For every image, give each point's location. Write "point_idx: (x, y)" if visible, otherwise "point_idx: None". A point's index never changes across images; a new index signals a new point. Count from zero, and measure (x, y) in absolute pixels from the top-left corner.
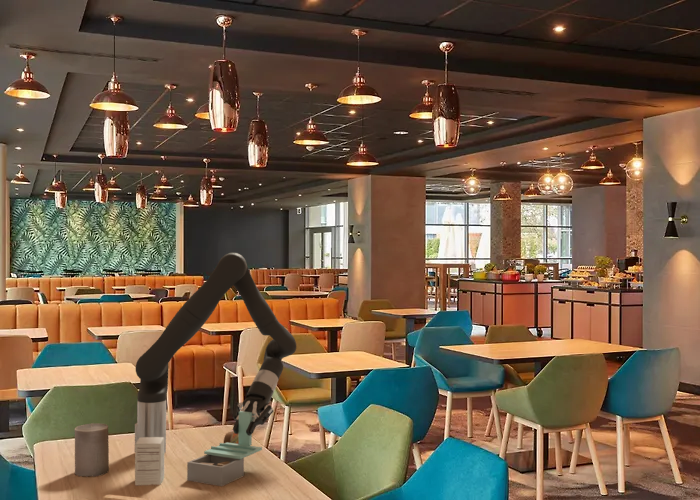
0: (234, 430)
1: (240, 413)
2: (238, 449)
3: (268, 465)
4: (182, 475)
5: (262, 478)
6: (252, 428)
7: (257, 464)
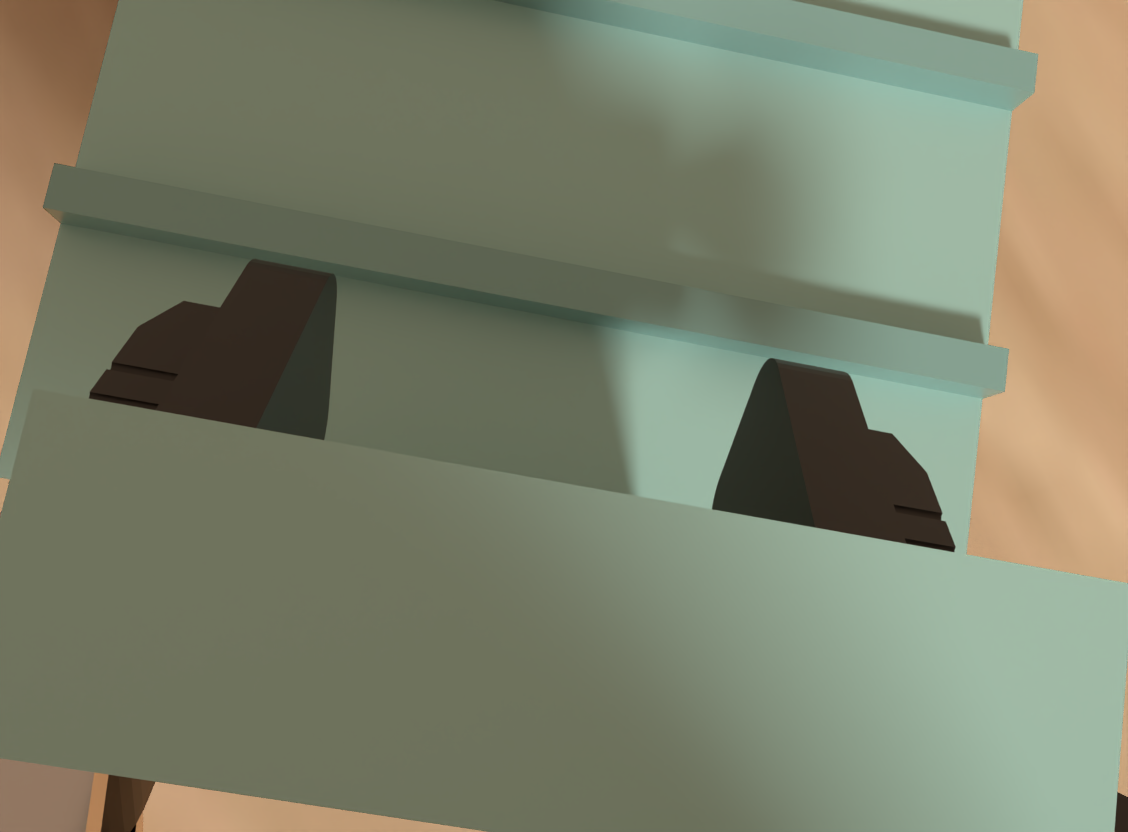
0: (789, 363)
1: (915, 549)
2: (455, 148)
3: (150, 825)
4: (1101, 11)
5: (13, 146)
6: (101, 387)
7: (351, 820)
